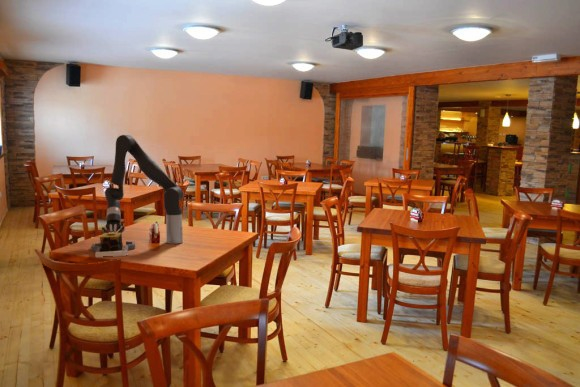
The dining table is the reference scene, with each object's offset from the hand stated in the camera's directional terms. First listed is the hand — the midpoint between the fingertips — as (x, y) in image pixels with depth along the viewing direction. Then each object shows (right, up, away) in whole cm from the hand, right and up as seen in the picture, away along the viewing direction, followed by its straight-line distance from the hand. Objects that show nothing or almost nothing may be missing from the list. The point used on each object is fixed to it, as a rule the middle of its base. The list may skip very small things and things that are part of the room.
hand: (113, 242), depth 273 cm
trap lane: (+1, -5, -3) cm, 6 cm away
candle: (+1, -5, -5) cm, 7 cm away
